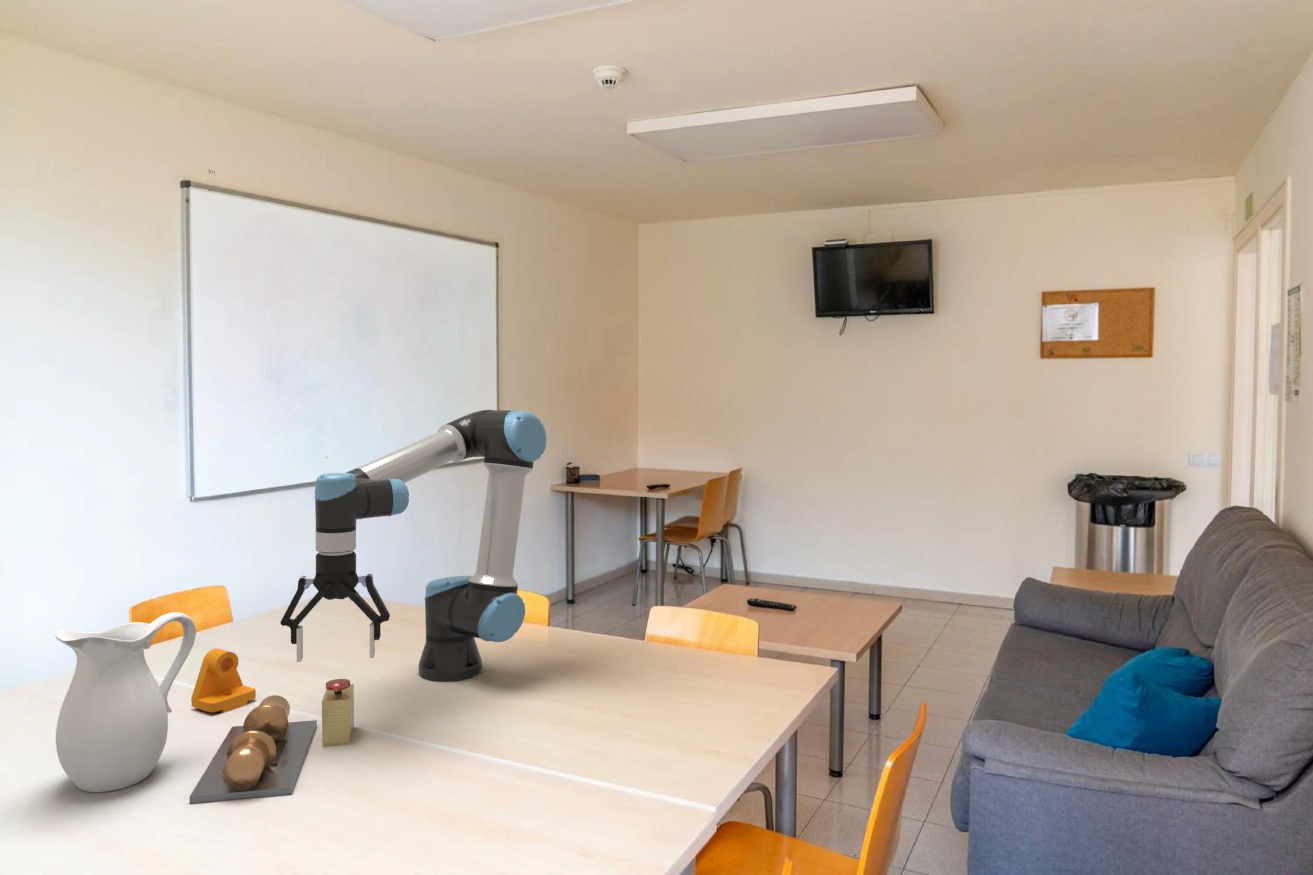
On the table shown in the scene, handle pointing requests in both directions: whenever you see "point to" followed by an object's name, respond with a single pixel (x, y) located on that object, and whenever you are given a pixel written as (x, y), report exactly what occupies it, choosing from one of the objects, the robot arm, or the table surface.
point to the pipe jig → (257, 756)
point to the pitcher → (116, 705)
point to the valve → (338, 713)
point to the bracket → (220, 684)
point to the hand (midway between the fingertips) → (336, 658)
